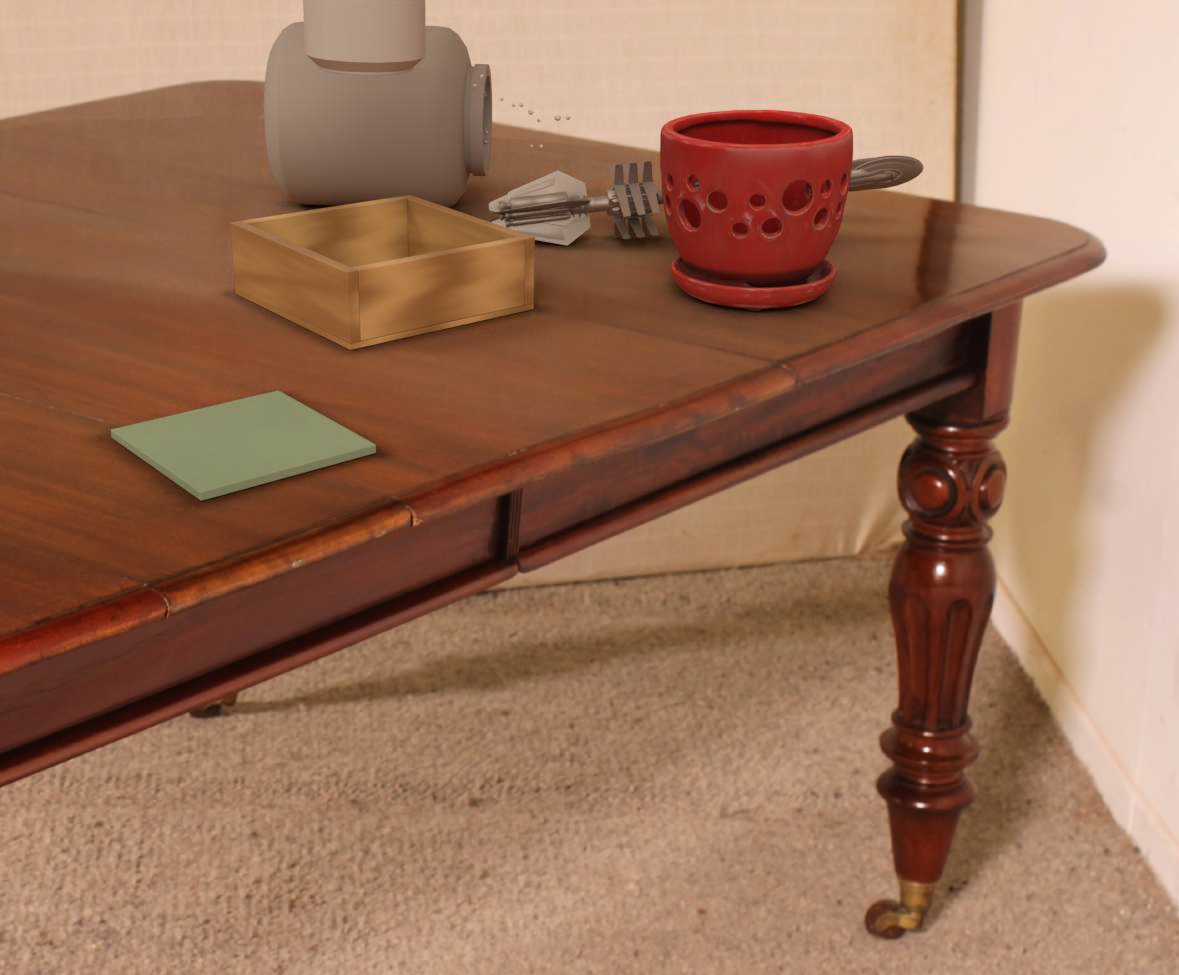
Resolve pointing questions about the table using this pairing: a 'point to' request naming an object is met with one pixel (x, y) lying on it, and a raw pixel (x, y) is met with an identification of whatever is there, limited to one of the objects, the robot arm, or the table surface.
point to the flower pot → (754, 204)
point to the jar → (377, 125)
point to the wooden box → (382, 269)
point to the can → (365, 35)
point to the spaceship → (638, 199)
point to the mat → (241, 444)
